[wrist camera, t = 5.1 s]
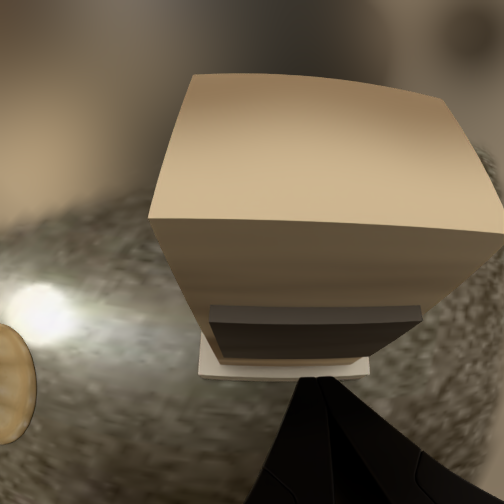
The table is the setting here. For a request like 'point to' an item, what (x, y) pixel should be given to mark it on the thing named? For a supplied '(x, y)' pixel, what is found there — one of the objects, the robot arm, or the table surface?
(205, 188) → the tan tall block
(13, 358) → the hand bell
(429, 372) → the table surface
